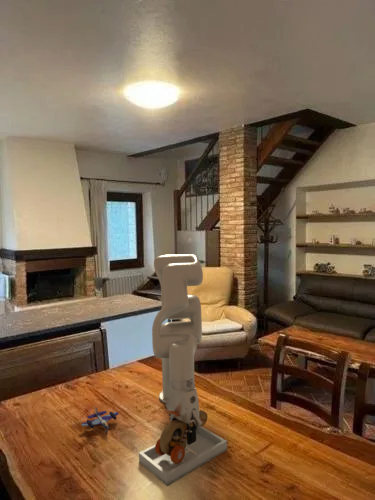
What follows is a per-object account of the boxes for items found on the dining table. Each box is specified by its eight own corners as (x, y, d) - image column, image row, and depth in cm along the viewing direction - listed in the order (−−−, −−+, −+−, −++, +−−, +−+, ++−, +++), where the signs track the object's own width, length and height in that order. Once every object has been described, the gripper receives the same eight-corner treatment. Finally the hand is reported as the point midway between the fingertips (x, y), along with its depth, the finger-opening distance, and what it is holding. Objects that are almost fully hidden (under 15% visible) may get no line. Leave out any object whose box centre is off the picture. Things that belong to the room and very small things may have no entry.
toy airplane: (112, 440, 126) (112, 430, 126) (75, 435, 130) (75, 425, 129) (128, 420, 139) (128, 411, 138) (94, 416, 142) (94, 407, 142)
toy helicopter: (152, 458, 113) (150, 414, 112) (196, 427, 129) (195, 389, 127) (172, 469, 108) (170, 423, 106) (215, 436, 123) (214, 396, 122)
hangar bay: (197, 431, 130) (197, 423, 130) (227, 449, 120) (226, 440, 119) (139, 462, 115) (138, 452, 114) (167, 486, 104) (167, 475, 104)
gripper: (210, 387, 111) (211, 444, 113) (173, 370, 124) (175, 421, 126) (191, 395, 106) (193, 455, 108) (155, 376, 119) (157, 430, 121)
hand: (183, 436), depth 117 cm, fingers closed on toy helicopter, 7 cm apart
